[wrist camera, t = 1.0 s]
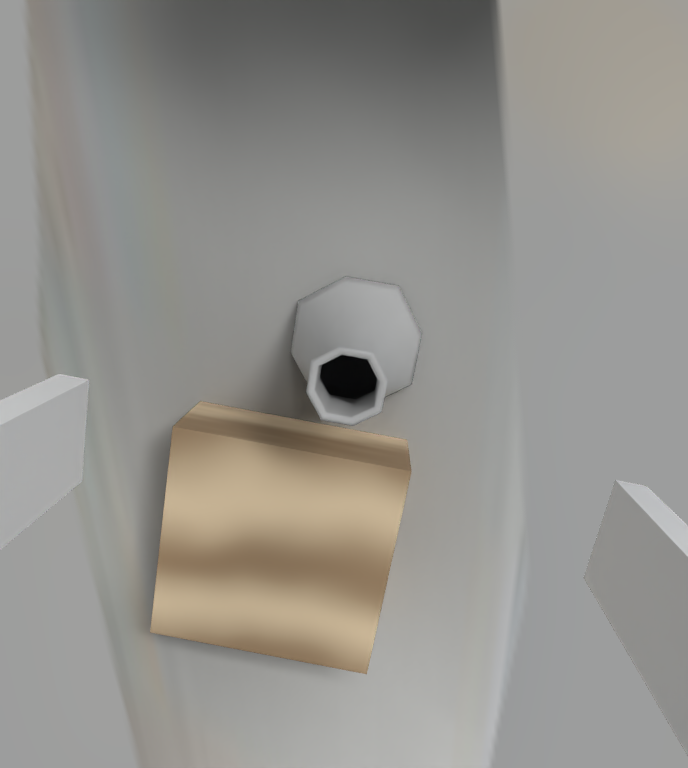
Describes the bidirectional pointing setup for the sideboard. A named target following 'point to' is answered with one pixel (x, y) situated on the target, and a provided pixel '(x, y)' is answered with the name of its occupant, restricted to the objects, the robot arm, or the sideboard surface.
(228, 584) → the oak block
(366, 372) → the flask
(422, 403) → the sideboard surface
